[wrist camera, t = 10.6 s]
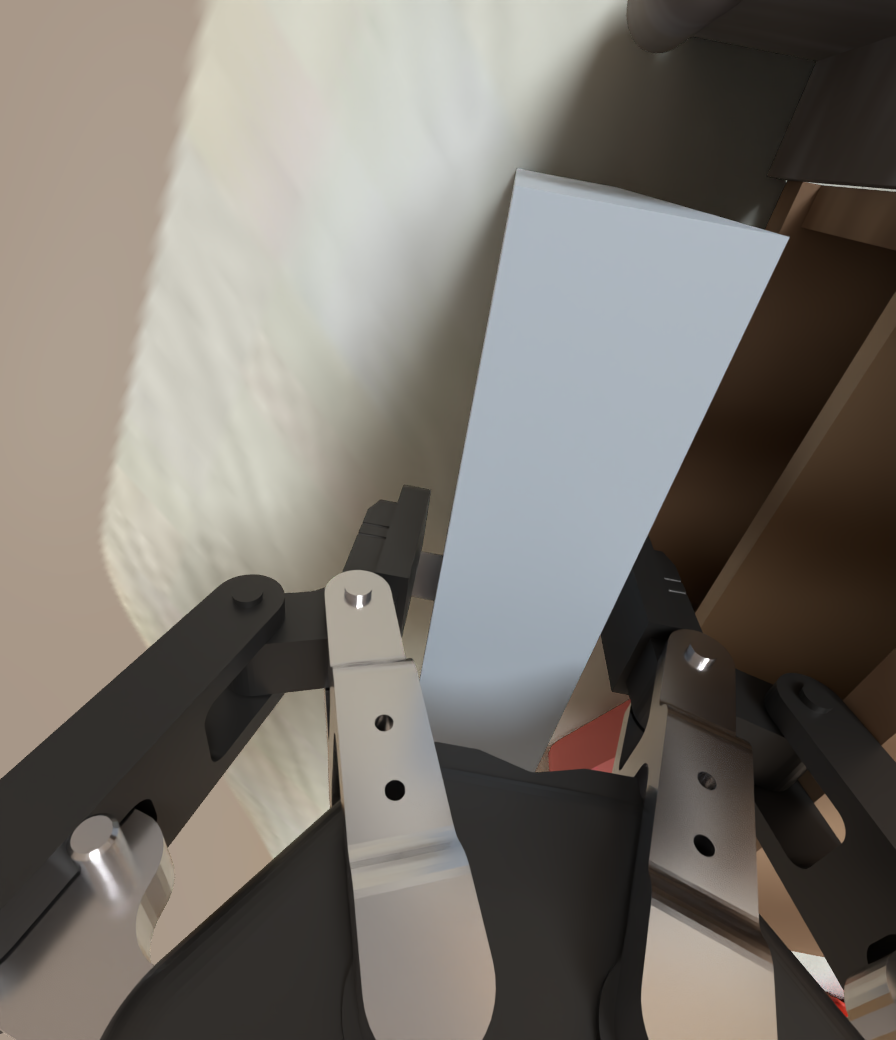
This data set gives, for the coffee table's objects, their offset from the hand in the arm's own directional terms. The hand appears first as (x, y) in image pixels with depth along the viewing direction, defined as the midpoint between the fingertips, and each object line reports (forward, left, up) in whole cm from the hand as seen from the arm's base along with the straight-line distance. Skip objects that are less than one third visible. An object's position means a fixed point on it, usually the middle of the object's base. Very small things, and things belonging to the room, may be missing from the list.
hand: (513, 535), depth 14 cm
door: (+1, 0, -8) cm, 8 cm away
